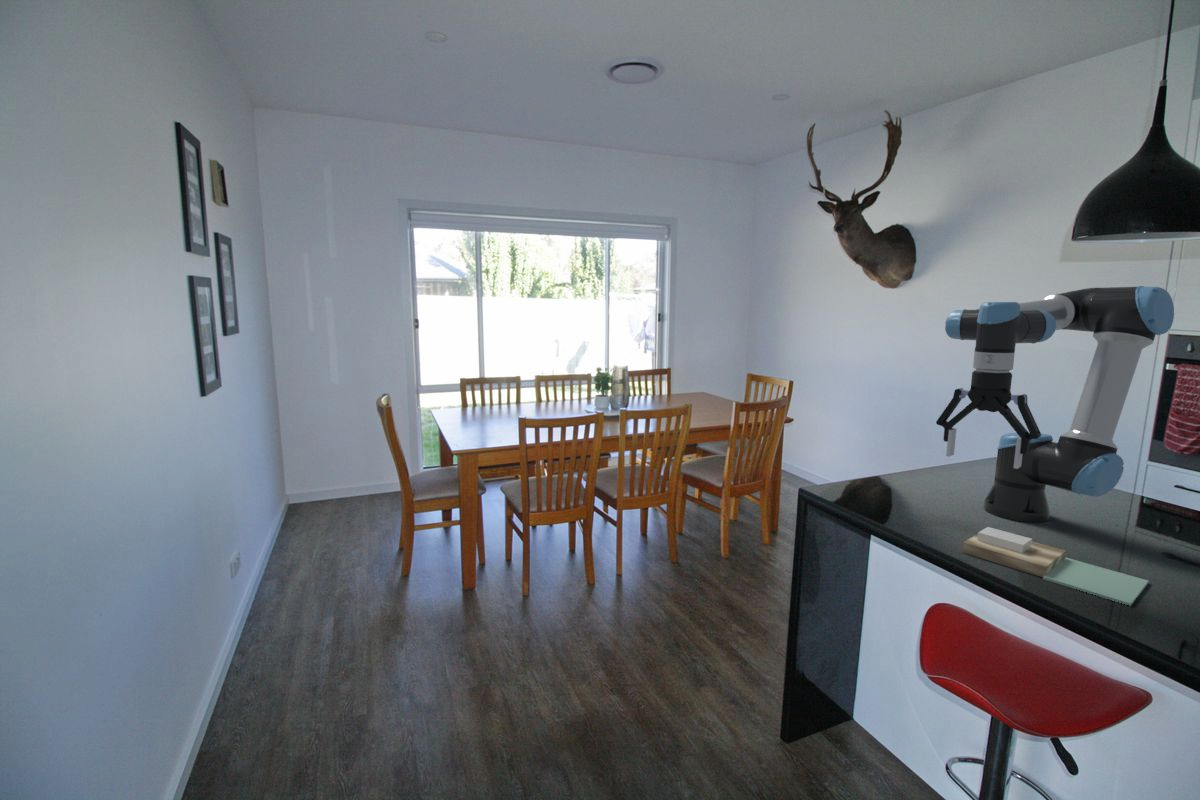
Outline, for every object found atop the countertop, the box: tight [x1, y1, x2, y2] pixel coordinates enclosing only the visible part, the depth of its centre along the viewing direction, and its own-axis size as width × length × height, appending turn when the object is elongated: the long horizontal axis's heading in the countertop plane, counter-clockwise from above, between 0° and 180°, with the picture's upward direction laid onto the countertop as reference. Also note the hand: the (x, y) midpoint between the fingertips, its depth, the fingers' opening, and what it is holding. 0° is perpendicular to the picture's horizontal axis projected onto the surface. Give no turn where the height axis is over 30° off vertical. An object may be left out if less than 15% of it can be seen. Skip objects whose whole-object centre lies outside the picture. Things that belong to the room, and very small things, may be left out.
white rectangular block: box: [977, 526, 1033, 553], centre depth 134 cm, size 9×6×2 cm, turn 37°
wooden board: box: [961, 533, 1067, 578], centre depth 132 cm, size 14×16×2 cm
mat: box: [1042, 557, 1149, 607], centre depth 121 cm, size 16×14×1 cm
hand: (982, 461), depth 133 cm, fingers open, 13 cm apart
